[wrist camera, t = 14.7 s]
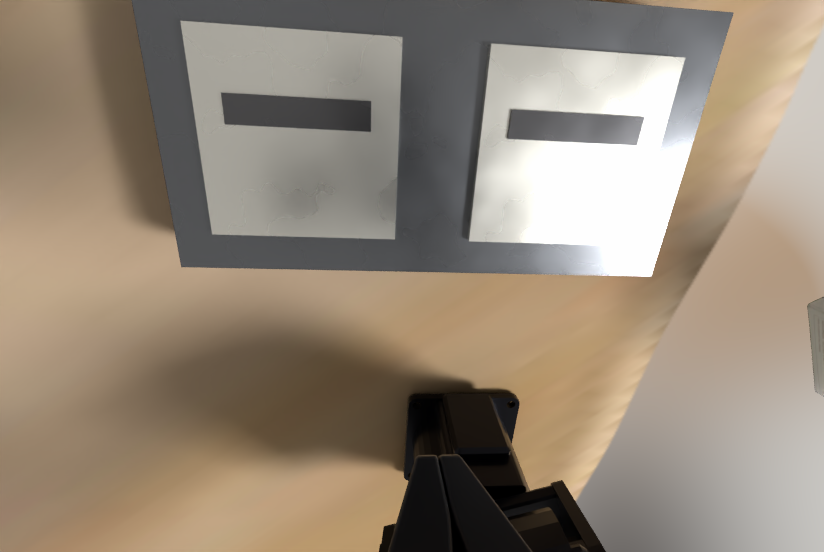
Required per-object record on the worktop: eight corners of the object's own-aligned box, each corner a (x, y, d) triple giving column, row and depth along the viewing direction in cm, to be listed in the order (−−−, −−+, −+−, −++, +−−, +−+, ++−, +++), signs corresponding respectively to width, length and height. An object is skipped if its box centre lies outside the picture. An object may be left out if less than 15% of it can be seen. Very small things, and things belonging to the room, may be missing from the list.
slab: (614, 253, 21) (656, 280, 17) (210, 243, 19) (176, 270, 16) (674, 27, 17) (743, 10, 14) (171, -13, 15) (116, -44, 12)
